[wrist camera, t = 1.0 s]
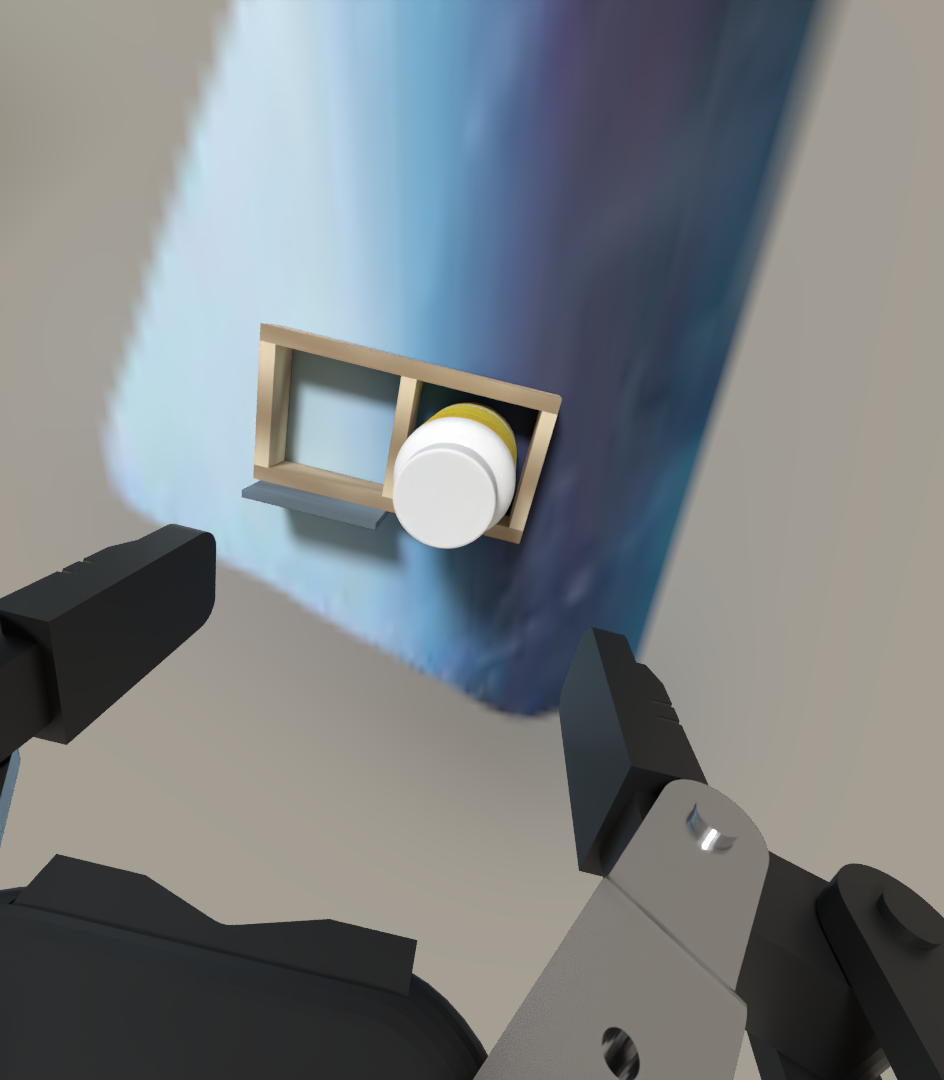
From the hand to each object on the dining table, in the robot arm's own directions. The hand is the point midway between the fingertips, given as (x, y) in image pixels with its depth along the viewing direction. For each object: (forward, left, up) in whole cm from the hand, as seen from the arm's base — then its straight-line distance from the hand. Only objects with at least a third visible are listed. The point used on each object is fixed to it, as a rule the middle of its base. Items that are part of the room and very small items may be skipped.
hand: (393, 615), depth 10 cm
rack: (0, -4, -18) cm, 18 cm away
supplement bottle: (0, 0, -18) cm, 18 cm away
